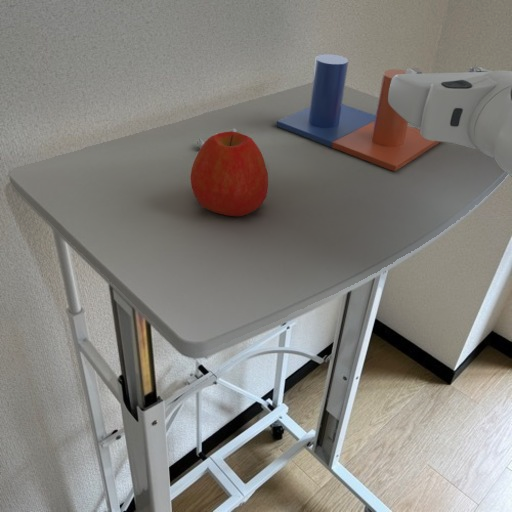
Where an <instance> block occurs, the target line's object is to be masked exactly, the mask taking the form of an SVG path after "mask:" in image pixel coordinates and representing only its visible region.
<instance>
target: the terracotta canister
mask: <svg viewBox="0 0 512 512" xmlns="http://www.w3.org/2000/svg"><path fill="white" fill-rule="evenodd" d="M406 70H407V69H397V68H396V69H395V68H393V69H386V70H384V71H383V73H382V78H381V85H380V90H379V95H378V100H377V104H376V105H377V106H376V110H375V115H376V116H375V121H374V126H373V132H372V140H373V141H374V142H376V143H378V144H380V145H384V146H400V145H402V144H403V143H404V140H405V136H406V132H407V127H408V126H409V124H410V123H409V122H407V121H406V120H405V119H403V118H402V117H401V116H400V115H399V114H398V113H397V112H396V111H395V110H394V109H393V108H392V107H391V106H390V105H389V103H388V94H389V88H390V84H391V80H392V78H393V77H394V76H395V75H397V74H405V73H406Z"/></svg>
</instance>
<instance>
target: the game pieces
mask: <svg viewBox="0 0 512 512" xmlns="http://www.w3.org/2000/svg"><path fill="white" fill-rule="evenodd" d="M230 131H231V132H237V133H238V131H237V129H236V128H231V129H230ZM216 134H218V133H216V132H215V133H214V134H213V135H216ZM204 143H205V142H204V140H202V139H201V138H198V140H196V147H197V148H199V150H200V149H201V147H202V146H203V144H204Z"/></svg>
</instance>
